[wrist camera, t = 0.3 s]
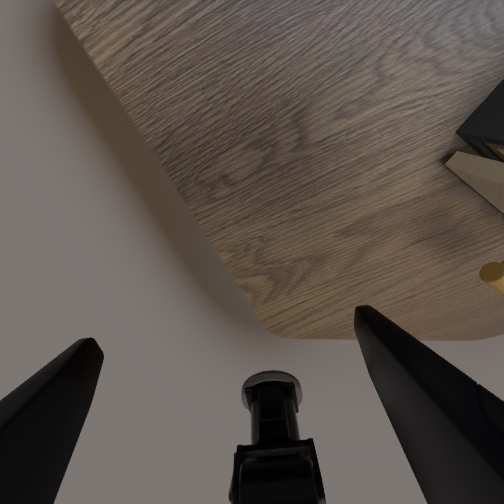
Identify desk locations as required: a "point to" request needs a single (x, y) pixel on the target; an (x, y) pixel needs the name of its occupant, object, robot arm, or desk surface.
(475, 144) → the cabinet
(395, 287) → the desk surface
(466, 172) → the drawer
